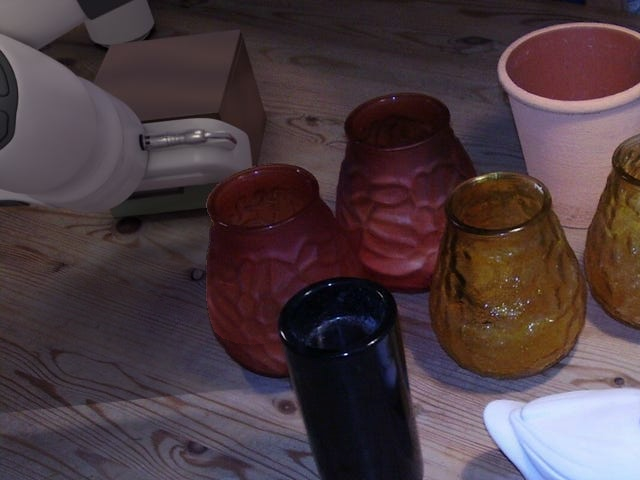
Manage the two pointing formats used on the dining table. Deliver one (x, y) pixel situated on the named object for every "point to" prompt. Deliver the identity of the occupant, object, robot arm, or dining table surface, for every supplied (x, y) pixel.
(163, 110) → the cabinet
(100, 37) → the can
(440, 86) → the dining table surface
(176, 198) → the drawer
